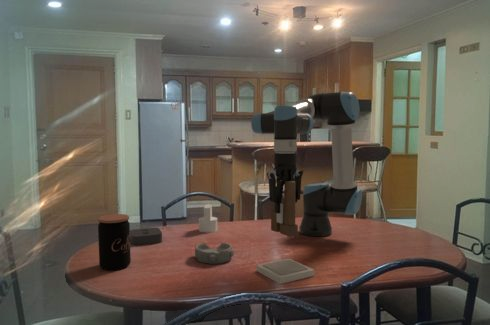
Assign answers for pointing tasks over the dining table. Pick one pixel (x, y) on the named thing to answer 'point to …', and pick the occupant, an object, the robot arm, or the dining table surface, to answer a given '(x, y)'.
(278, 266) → the stand
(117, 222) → the coffee jar
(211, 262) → the dish
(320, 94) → the robot arm
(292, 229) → the wooden block
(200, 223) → the base with upright slab
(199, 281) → the dining table surface
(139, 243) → the streaming box
